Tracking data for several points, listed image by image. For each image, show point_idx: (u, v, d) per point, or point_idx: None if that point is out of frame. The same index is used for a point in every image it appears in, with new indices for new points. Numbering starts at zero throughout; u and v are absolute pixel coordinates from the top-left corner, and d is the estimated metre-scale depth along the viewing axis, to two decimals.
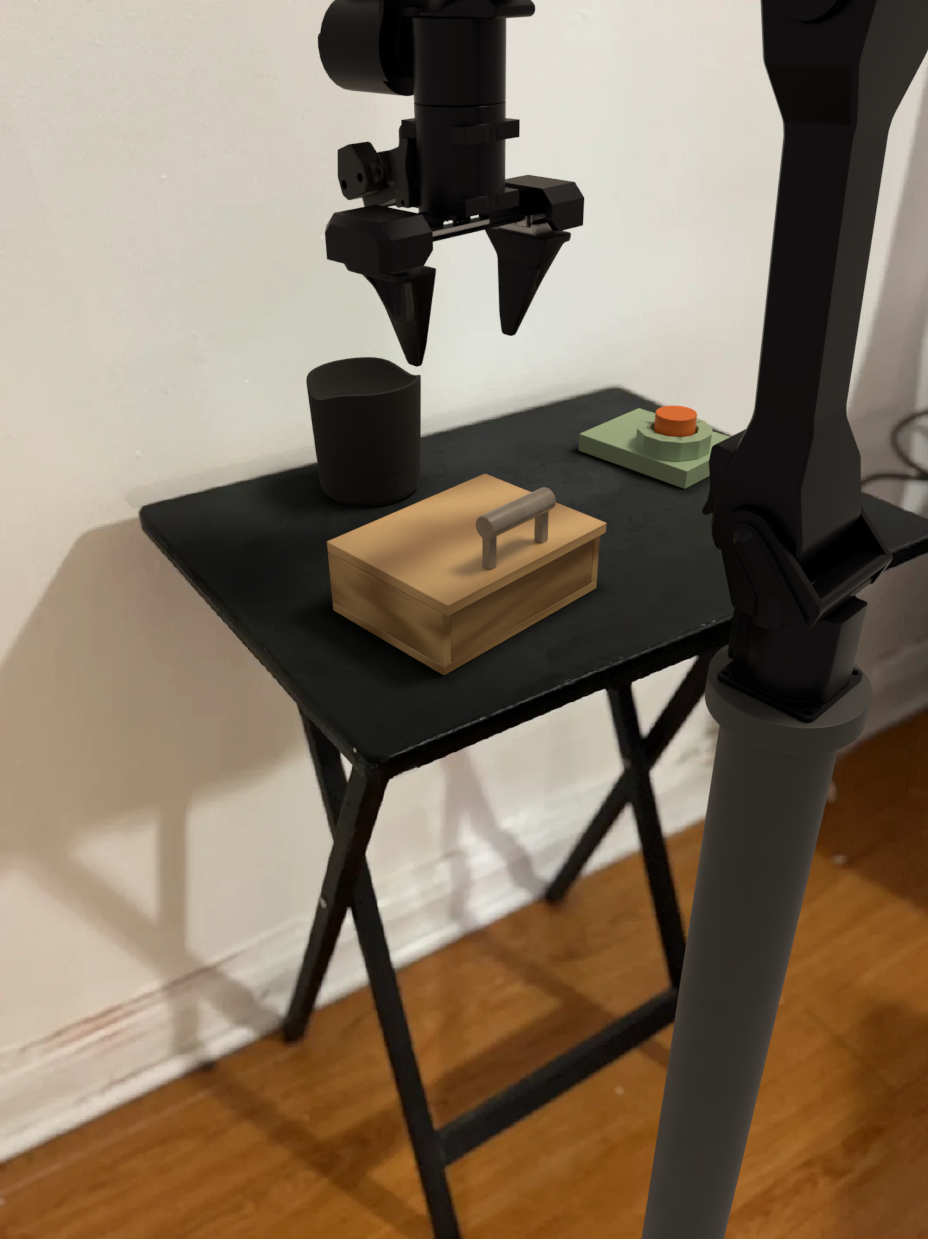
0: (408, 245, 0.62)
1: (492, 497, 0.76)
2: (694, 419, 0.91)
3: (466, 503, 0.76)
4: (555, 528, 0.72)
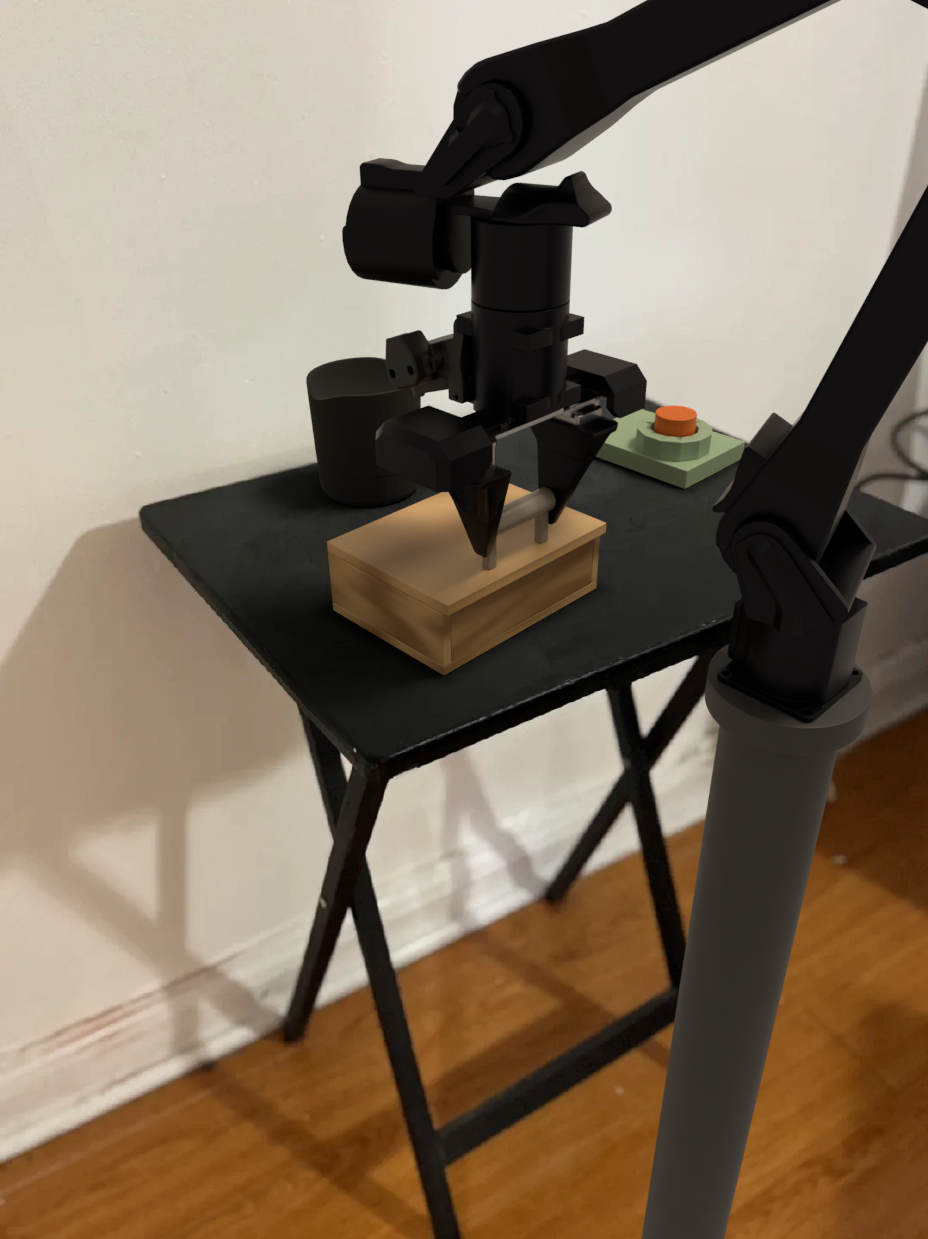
0: (467, 462, 0.58)
1: None
2: (694, 419, 0.91)
3: None
4: (555, 528, 0.72)
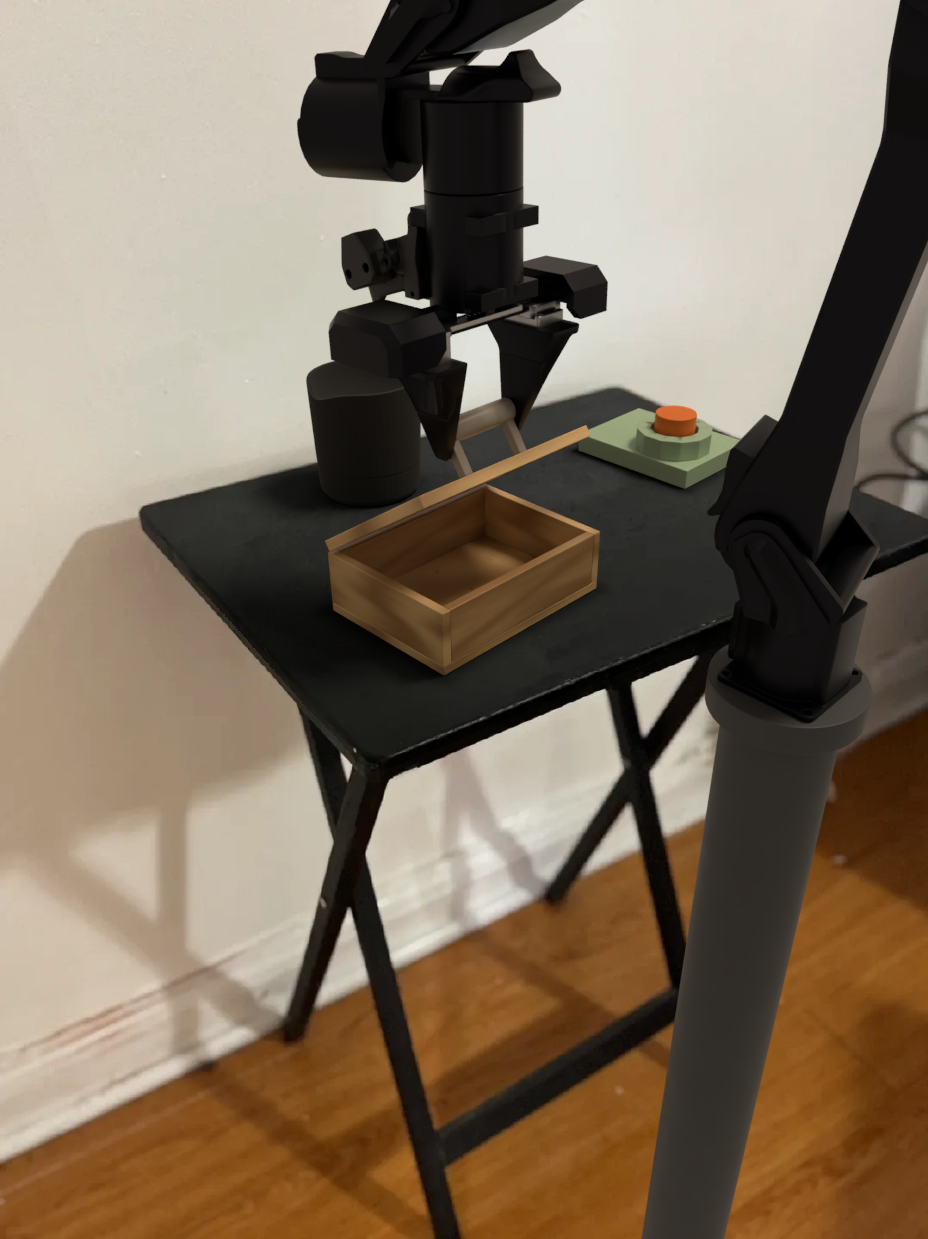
0: (420, 347, 0.57)
1: None
2: (694, 419, 0.91)
3: None
4: None
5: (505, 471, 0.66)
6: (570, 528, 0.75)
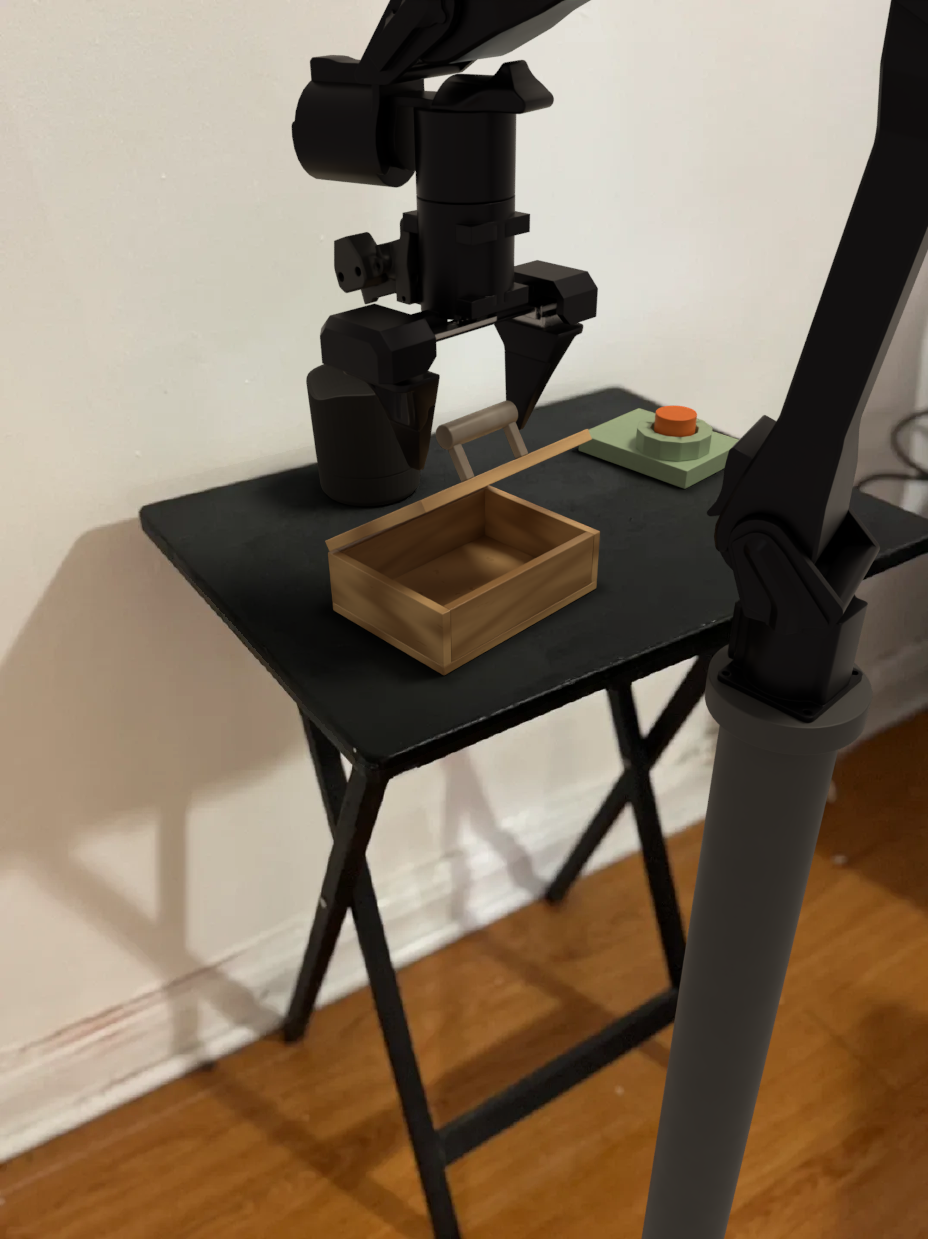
0: (410, 354, 0.58)
1: None
2: (694, 419, 0.91)
3: None
4: None
5: (507, 475, 0.66)
6: (570, 528, 0.75)
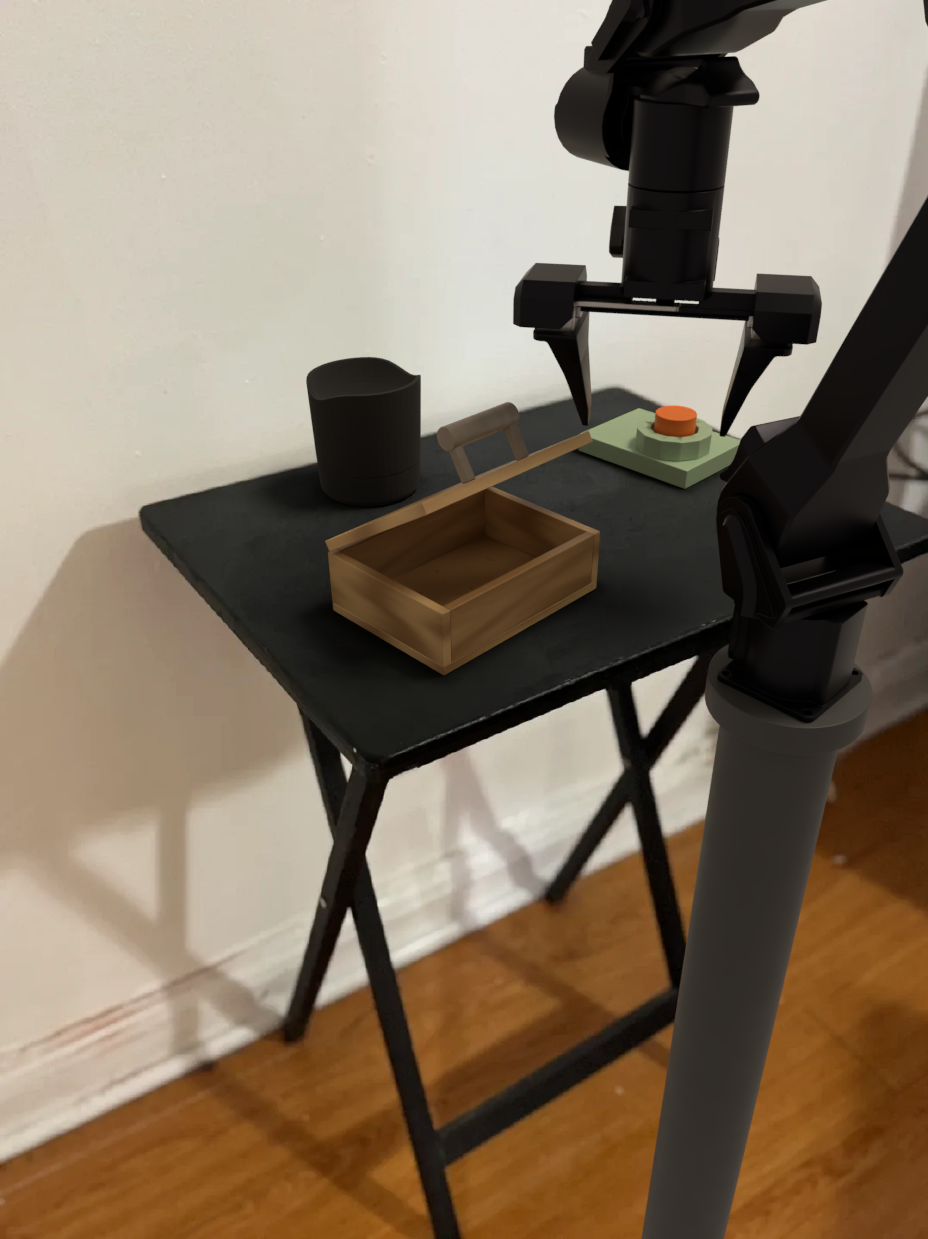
0: (541, 306, 0.65)
1: None
2: (694, 419, 0.91)
3: None
4: None
5: (507, 477, 0.66)
6: (570, 528, 0.75)
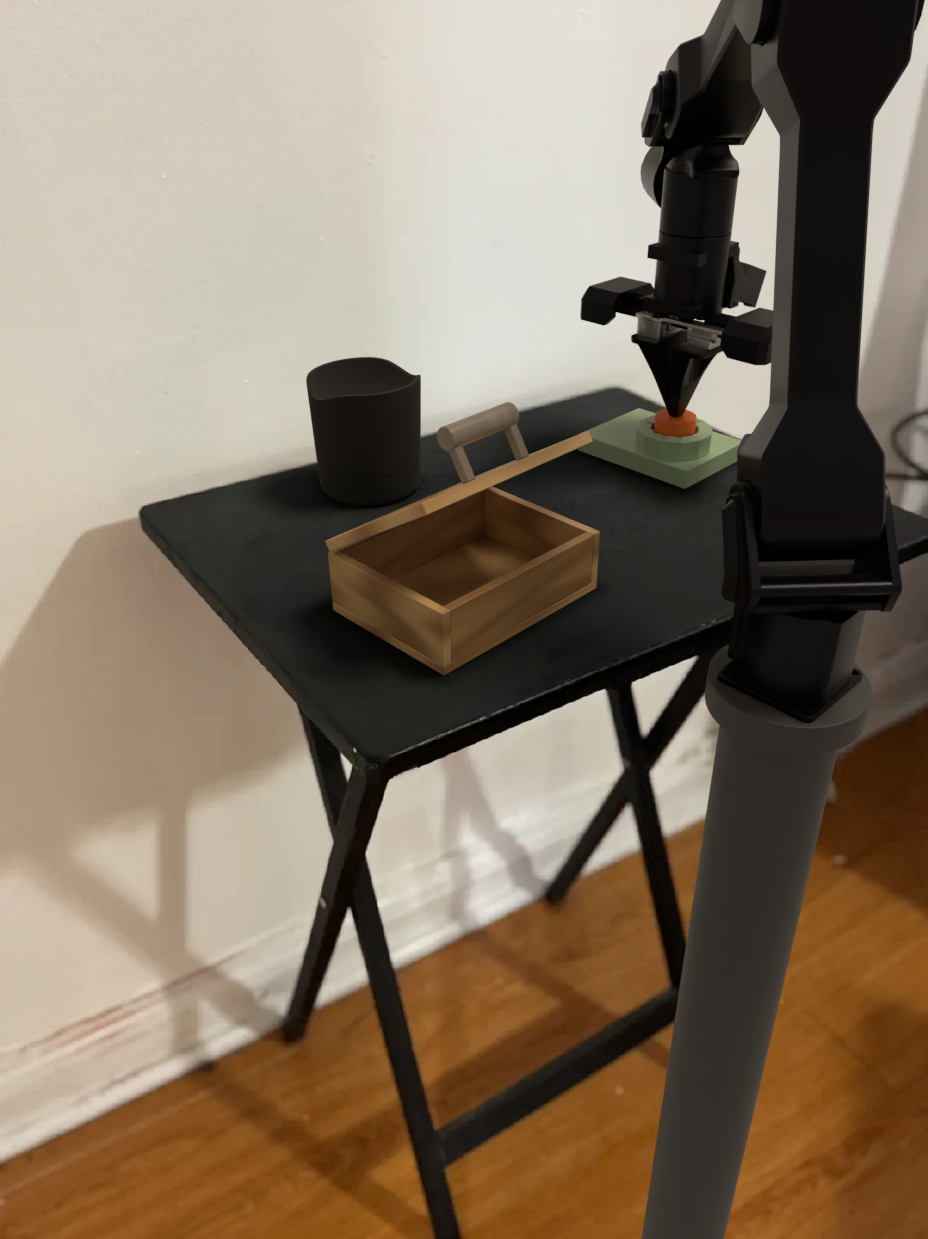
0: (593, 307, 0.90)
1: None
2: (694, 422, 0.91)
3: None
4: None
5: (507, 477, 0.66)
6: (570, 528, 0.75)
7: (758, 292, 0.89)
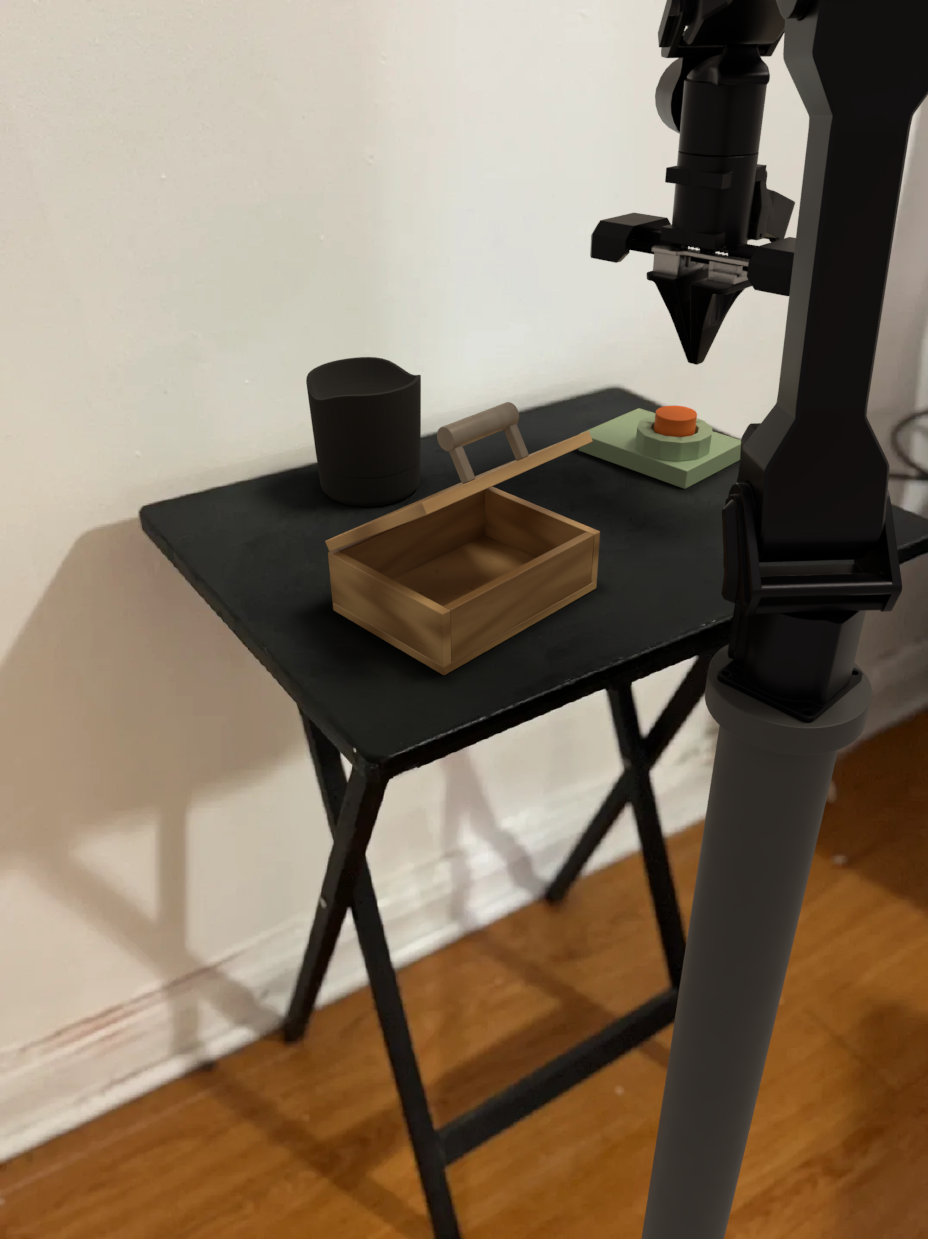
0: (605, 242, 0.82)
1: None
2: (694, 419, 0.91)
3: None
4: None
5: (507, 477, 0.66)
6: (570, 528, 0.75)
7: (786, 225, 0.81)
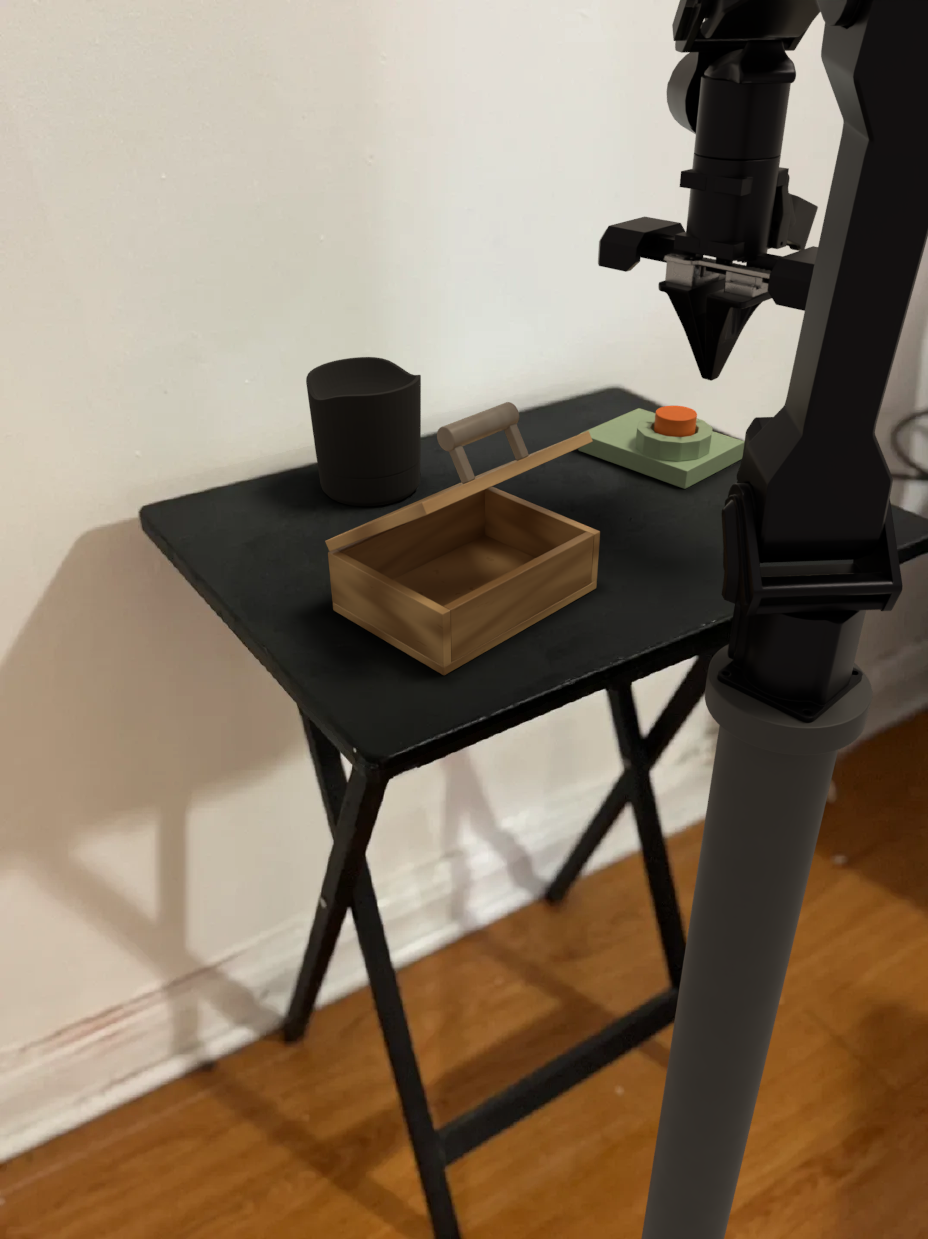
0: (614, 250, 0.77)
1: None
2: (694, 419, 0.91)
3: None
4: None
5: (507, 477, 0.66)
6: (570, 528, 0.75)
7: (808, 232, 0.76)
